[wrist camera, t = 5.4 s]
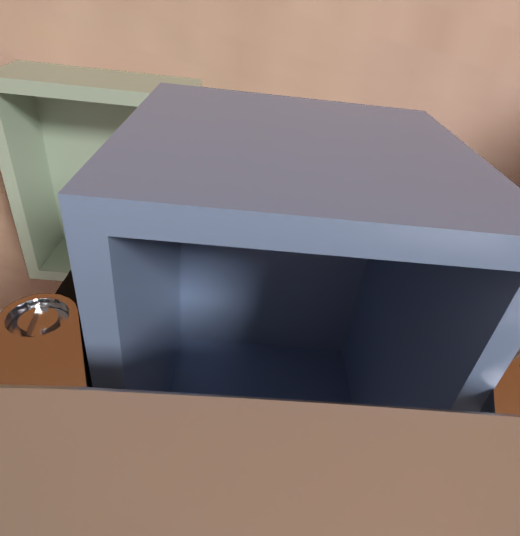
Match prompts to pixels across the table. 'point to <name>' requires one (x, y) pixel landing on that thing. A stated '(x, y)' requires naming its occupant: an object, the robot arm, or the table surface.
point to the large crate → (58, 143)
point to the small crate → (294, 253)
